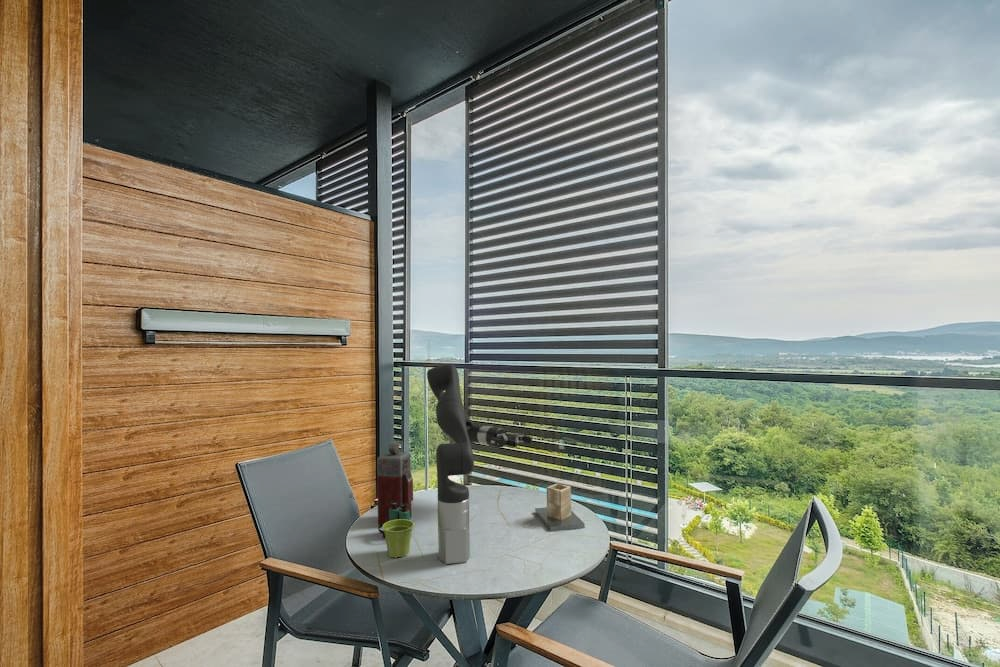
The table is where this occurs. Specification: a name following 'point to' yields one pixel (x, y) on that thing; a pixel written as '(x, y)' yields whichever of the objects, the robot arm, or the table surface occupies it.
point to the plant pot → (398, 536)
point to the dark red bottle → (393, 481)
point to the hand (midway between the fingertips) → (524, 442)
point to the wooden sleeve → (559, 501)
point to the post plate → (559, 521)
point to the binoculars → (396, 514)
